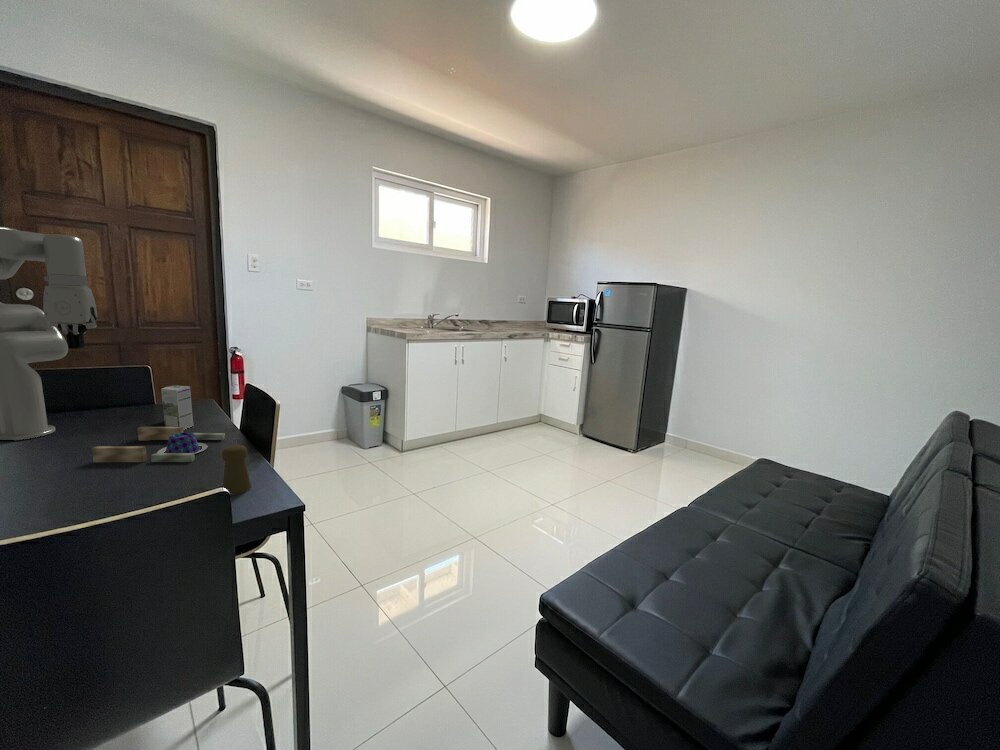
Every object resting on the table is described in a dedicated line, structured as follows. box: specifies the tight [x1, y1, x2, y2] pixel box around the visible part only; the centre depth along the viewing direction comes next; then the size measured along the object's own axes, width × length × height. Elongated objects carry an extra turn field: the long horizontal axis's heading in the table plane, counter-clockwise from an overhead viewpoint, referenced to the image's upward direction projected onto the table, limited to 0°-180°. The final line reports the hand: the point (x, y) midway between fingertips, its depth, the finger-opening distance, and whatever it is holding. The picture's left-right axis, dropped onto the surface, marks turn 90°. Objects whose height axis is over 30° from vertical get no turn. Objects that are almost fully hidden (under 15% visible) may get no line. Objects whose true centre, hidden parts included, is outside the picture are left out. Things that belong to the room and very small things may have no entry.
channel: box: [91, 426, 226, 463], centre depth 123 cm, size 24×19×4 cm
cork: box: [221, 444, 252, 496], centre depth 101 cm, size 6×6×11 cm
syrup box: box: [160, 385, 194, 431], centre depth 140 cm, size 6×6×14 cm
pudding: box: [156, 431, 209, 455], centre depth 123 cm, size 12×12×5 cm
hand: (76, 348), depth 117 cm, fingers closed
